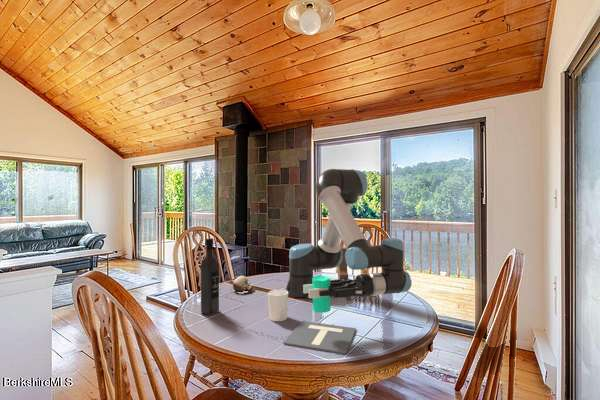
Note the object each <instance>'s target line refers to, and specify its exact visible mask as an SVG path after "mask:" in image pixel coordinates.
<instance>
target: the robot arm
mask: <svg viewBox="0 0 600 400" xmlns="http://www.w3.org/2000/svg"><path fill="white" fill-rule="evenodd" d="M367 190H368V179H367V177H366V175H365V173H364V172H363V171H361V170H358V169H347V168H346V169H343V168H342V169H340V168H339V169H338V168H330V169H326V170H325V171H323V172H322V173H321V174H320V175H319V177H318V178H317V180H316V184H315V191H316V195H317V197H318V199H319V202H321V203H322V204H324V206H325V208H326V210H327V212H328V214H329V216H328V219H327V222H326V226H325V228H324V229H325V230H324V233H323V235H322V238H320V239H319V240H318V242H317V245H314V244H312V243H299V244H296V245H292V246H291V247H290V248H289V252H288V253H289V255H288V258H289V260H288V261H289V266H288V267H289V270H288V271H289V278H288V281H287V284H286V287H285V290H286V291H288V296H289V295H290V297H293V298H309V299H313V298H318V297H327V296H330V298H332V297H333V299H340V298H349V297H362V298H365V297H366V298H367V297H371V296H375V297H379V296H382V295H389V294H390V295H391V294H400V293H405V292H408V291H409V290H410V289H411V287H412V283H413V282H412V279H411V275H410V274H409V272H407V270H405V269H404V264H405V263H404V252H405V251H404V241H403V240H402V239H400V238H393V237H392V238H391V237H390V238H389V237H388V238H387V237H386V238H382V239H381V242H380V243H381V244H378V245H377V244H376V245H370V244H369V242H368V241H367V239H366V237H365V235H364V234H363V232H362V230H361V228H360V227H359V225H358V223H357V222H356V220H355V217H354V216H353V214H352V212H351V210H352V207H353V205H356V203H357V202H358V199H359V197H362V196H364V195H365V194H367ZM341 240H342V241H343V243H344V245H345V248H347V251H346V253H345V259H346V264H347V268H349V269H350V270H353V271H354V270H357V271H358V270H361V271H362V270H366V269H373V268H381V271H382V272H374V273H373V272H372V273H364V274H357V276H355V279H354V280H353V279H348V280H346V279H345V278H343V279H339V278H338V279H330V286H329V290H328V288H316V289H312V278H313V277H314V271H318V270H328V269H334V268H337V267H338V266H339V265H340V264H341V262H342V259H343V256H342V254H343V251H342V249H341V246H342V245H340V244H341V243H340V242H341Z"/></svg>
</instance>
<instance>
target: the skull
mask: <svg viewBox="0 0 600 400" xmlns="http://www.w3.org/2000/svg"><path fill="white" fill-rule="evenodd" d="M232 289H234V290H235V292H243V291H248V292H251V291H252V292H251V293H253V292H254V291H256V289H255V287H254V286H253V285H251V282H250V281H249V279H248V278H247V276H244V275H240V276H237V277H236V278H235V279H234V280H233V282H232ZM235 292H234V293H235Z"/></svg>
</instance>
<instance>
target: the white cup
mask: <svg viewBox="0 0 600 400" xmlns="http://www.w3.org/2000/svg"><path fill="white" fill-rule="evenodd" d="M267 300H268V301H267V303H268V312H269V313H268V315H269V320H270V321H272V322H276V321H277V322H279V321H280V322H283V321H284V322H285V321H286V320H287V319H288V311H289V308H288V307H289V306H288V305H289V295H288V291H286V289H272V290H269V291H268V292H267ZM277 322H276V323H277Z"/></svg>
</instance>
